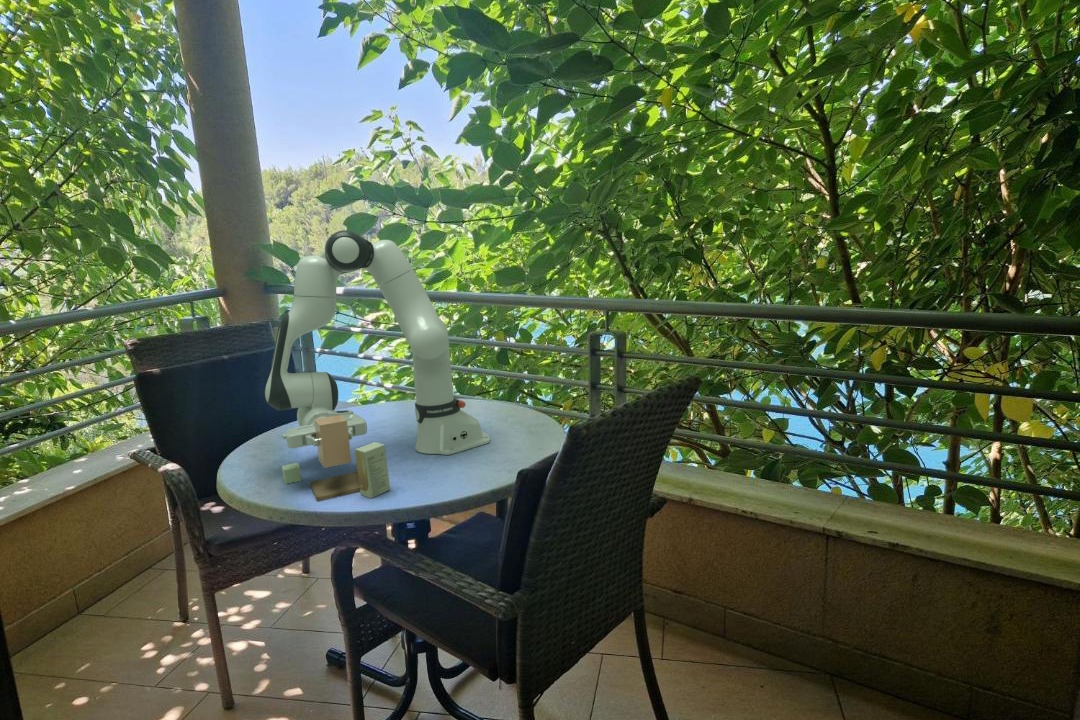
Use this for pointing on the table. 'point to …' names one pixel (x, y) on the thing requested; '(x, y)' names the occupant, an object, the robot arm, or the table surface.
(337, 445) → the tall tan cardboard box
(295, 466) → the green block
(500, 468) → the table surface
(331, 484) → the board
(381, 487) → the skincare box
